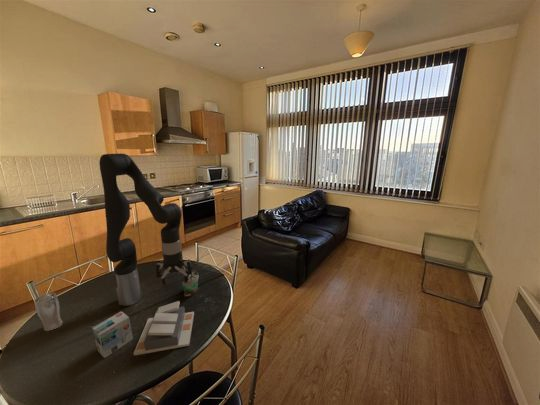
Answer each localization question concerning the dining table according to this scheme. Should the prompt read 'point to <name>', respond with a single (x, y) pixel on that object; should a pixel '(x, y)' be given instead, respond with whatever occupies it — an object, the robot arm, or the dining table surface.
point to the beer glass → (48, 311)
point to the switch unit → (166, 341)
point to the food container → (191, 284)
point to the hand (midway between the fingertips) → (176, 283)
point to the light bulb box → (112, 334)
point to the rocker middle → (165, 318)
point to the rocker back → (169, 307)
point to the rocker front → (161, 329)
